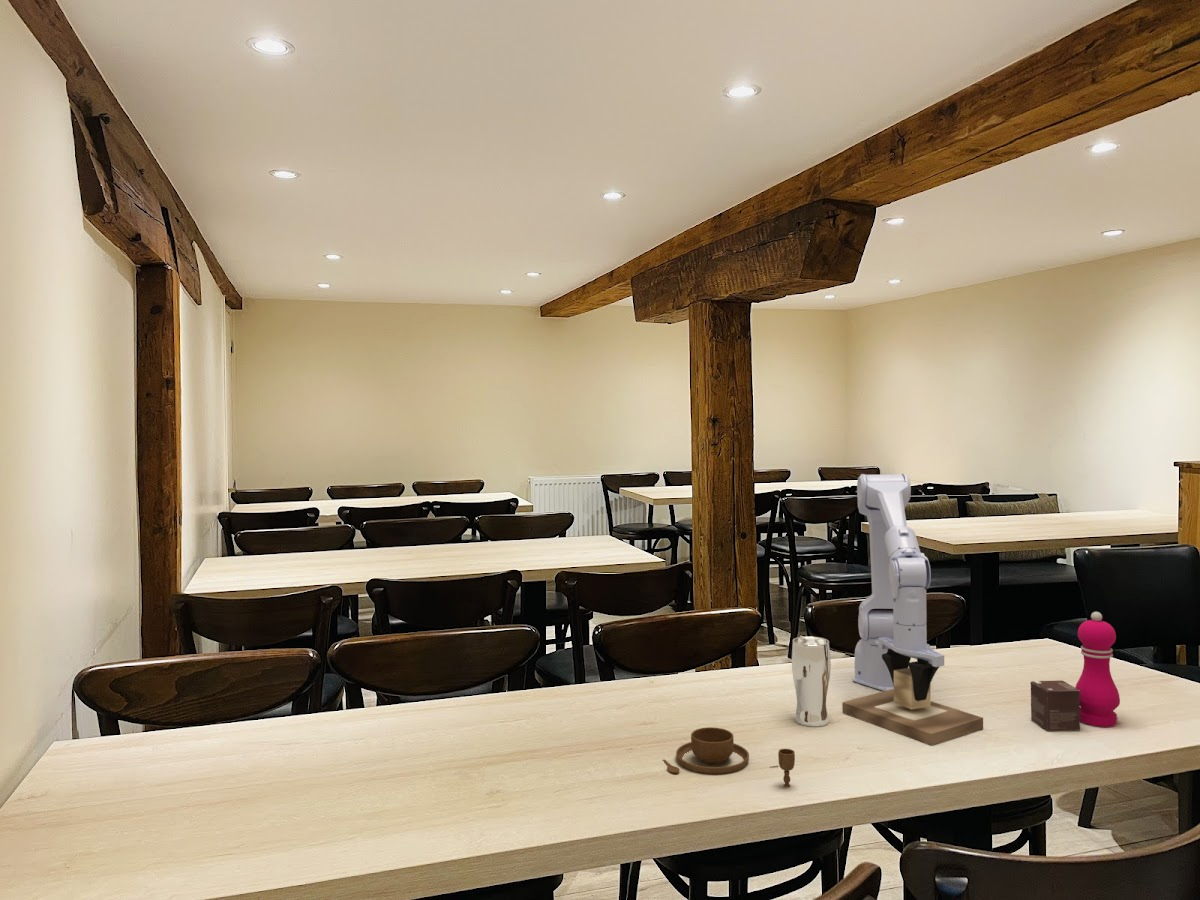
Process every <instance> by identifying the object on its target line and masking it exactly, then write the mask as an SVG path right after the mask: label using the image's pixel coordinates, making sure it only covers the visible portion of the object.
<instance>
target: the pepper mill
mask: <svg viewBox="0 0 1200 900" xmlns="http://www.w3.org/2000/svg"><path fill="white" fill-rule="evenodd" d="M1090 618H1091V619H1088V620H1084V622H1082V623H1081V624H1080V625H1079V627H1078V629H1077V637H1078V640H1079V641H1080V642H1081V644H1082V645H1080V649H1081V651H1080V654H1081V655H1083V668H1082V671H1081V674H1080V677H1079V679H1078V680H1077V682H1076V685H1075V686H1074V687H1075V688H1076V689H1078V690H1080V723H1082V724H1084V723H1085V724H1084V725H1087V724H1088V726H1091V725H1092V726H1093V727H1097V726H1099V727H1098V728H1110V727H1111V726H1112V727H1115V726H1116V725H1118V724H1117V723H1118V720H1117V719H1118V717H1117V716H1118V715H1117V713H1116V712H1115V710H1116V709H1117V708H1118V707H1119V706H1120V703H1121V699H1120V698H1121V697H1120V692H1119V690H1118V688H1117V686H1116V684H1115V682H1114V680H1113V677H1112V673H1111V669H1110V667H1111V665H1110V663H1111V658H1113V657H1114V654H1113V651H1114V650H1113V648H1112V646H1113V645H1114V644H1115V643H1116V639H1117V635H1116V634H1117V633H1116V631H1115V628H1114V627H1113V626H1112V625H1111V624H1110V623H1108V622H1106V621H1104V620H1102V619H1103V614H1101V612H1099V611H1093V612H1092V613H1091V615H1090Z"/></svg>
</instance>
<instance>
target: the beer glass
mask: <svg viewBox="0 0 1200 900" xmlns="http://www.w3.org/2000/svg"><path fill="white" fill-rule="evenodd" d="M791 648H792V649H791V673H792V677H793V678H792V679H793V682H794V685H793V686H794V688H795V695H796V710H795V715H794V720H795V722H796V723H797V724H799V725H801V726H806V727H811V728H815V727H817V728H819V727H824V726H827V725H828V724H829V721H830V720H829V719H830V718H829V715H828V714H829V713H828V710H827V709H828V708H827V696H828V689H829V684H830V680H831V679H830V678H831V668H832V667H831V665H832V664H831V651H830V650H831V649H830V641H829V640H828V639H827V638H824V637H819V636H812V635H811V636H798V637H795V638H793V639H792V647H791ZM826 724H827V725H826Z"/></svg>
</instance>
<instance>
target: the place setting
mask: <svg viewBox="0 0 1200 900" xmlns="http://www.w3.org/2000/svg"><path fill="white" fill-rule="evenodd" d="M691 750H692V751H691ZM689 751H691V752H692V753H693V755H694V756H695V757H696V758H697V759H699V760H700V762H701V763H703V764H705V765H706V764H707V765H713V766H714V767H713V766H703V765H698V764H693V763H690V762H688V761H686V760H684V759H682V758H683V757H684V756H685V755H686V754H688V753H690V752H689ZM687 752H688V753H687ZM685 753H686V754H685ZM736 753H737V754H736ZM675 754H676V760H677V762H678V763H679V764H680V765H681V766H682V767H683V768H684V769H686V770H689V771H691V770H692V771H691V772H694V771H695V773H698V772H699V773H700V774H706V775H725V774H732V773H735V771H736V772H739V771H740V770H743V769H744V768H745V767H746V766H747V765H748V763H749V760H750V753H749V752H748V750H747V749H746V748H745V747H743V746H741V745H740V744H736V743H734V733H732V732H731V731H730V730H727V729H725V728H720V727H701V728H697V729H695V730H693V731H692V732H691V734H690V742H686V743H683V744H682V745H680V746H679V747H678V748H677V749H676V752H675ZM684 754H685V755H684ZM733 754H736V755H738V756H739V757H741V758H742V760H743V761H740V762H739V763H736V764H733V765H728V766H715V765H721V764H723V763H725V760H727V759H729V758H730V757H731V756H732V755H733ZM777 755H778V765H773V766H769V768H776V767H780V769H781V770H783V775H784V776H783V778H782V780H783V782H784V784H783V785H784V786H783V788H791V787H790V786H791V785H790V782H791V777H790V771H793V769H794V768H795V762H796V760H795V759H796V757H795V751H794V750H793V749H791V748H781V749H778V754H777ZM663 761H664V762H663ZM662 762H663V763H664V764H665V765H667V768H666V769H667V770H666V771H668V772H669V773H671V774H678V773H680V768H679V767H677V766H674V765H672V764H670V763H669V762H668V761H667V759H662Z"/></svg>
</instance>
